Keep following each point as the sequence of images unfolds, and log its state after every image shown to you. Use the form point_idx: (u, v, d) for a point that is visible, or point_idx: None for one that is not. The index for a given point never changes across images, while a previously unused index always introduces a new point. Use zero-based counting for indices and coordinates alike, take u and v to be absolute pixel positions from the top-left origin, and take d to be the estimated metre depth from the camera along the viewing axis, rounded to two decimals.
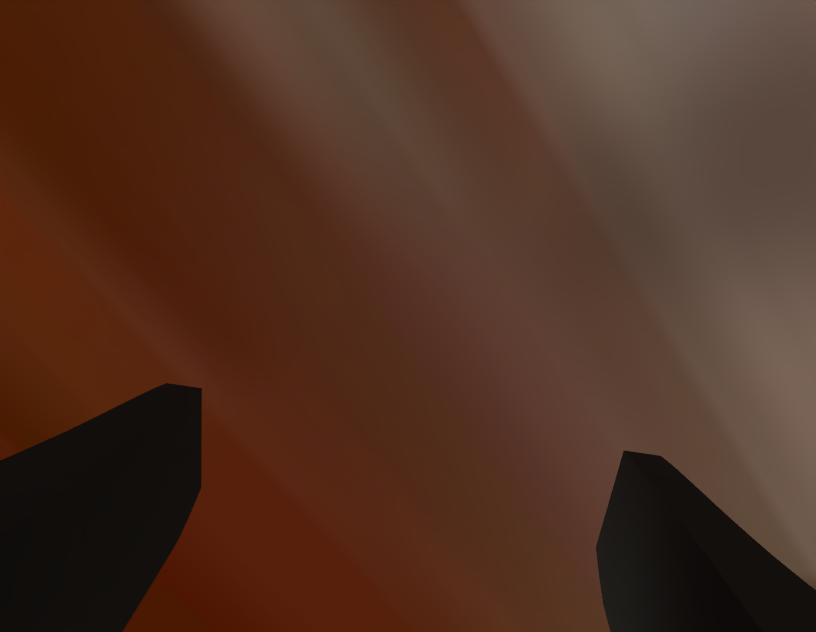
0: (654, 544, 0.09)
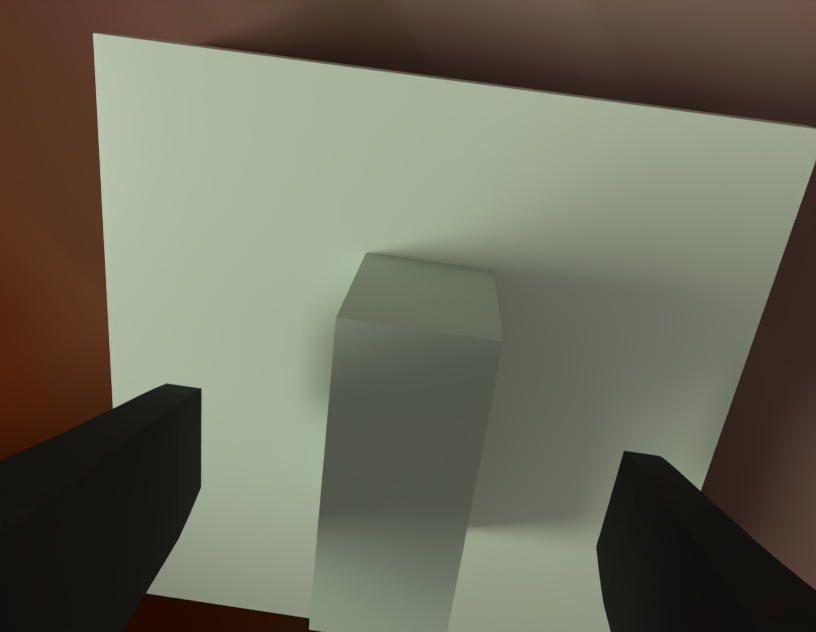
0: (654, 544, 0.09)
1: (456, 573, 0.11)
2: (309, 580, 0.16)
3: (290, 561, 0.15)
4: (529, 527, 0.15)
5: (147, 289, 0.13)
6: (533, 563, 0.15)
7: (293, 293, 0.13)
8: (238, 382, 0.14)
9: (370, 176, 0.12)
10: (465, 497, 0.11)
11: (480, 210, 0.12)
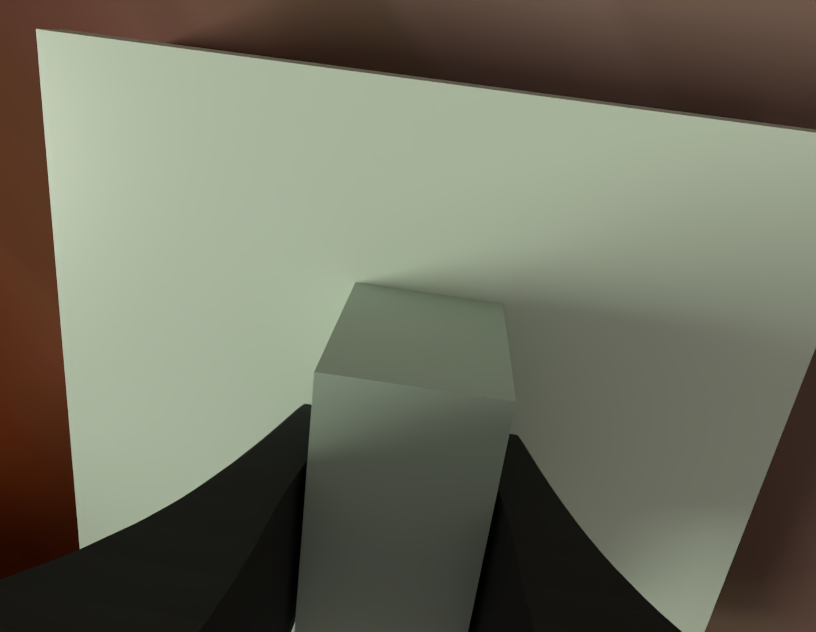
0: None
1: None
2: None
3: None
4: None
5: (106, 322, 0.12)
6: None
7: (272, 327, 0.11)
8: (212, 426, 0.12)
9: (360, 195, 0.10)
10: (469, 579, 0.09)
11: (487, 234, 0.10)
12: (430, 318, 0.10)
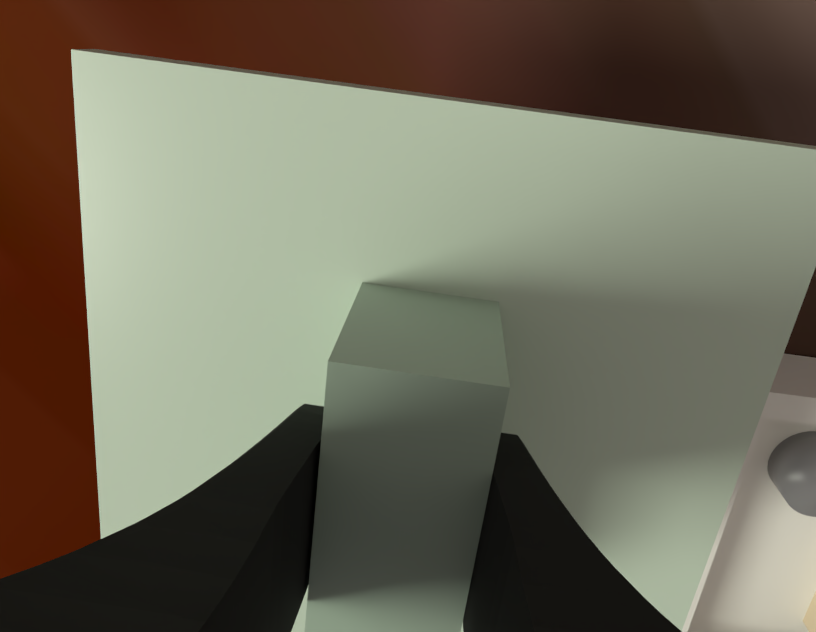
0: (486, 518, 0.09)
1: (458, 631, 0.10)
2: (302, 622, 0.15)
3: None
4: None
5: (130, 319, 0.12)
6: None
7: (285, 324, 0.12)
8: (227, 416, 0.13)
9: (367, 202, 0.11)
10: (468, 552, 0.10)
11: (484, 238, 0.11)
12: (432, 314, 0.11)
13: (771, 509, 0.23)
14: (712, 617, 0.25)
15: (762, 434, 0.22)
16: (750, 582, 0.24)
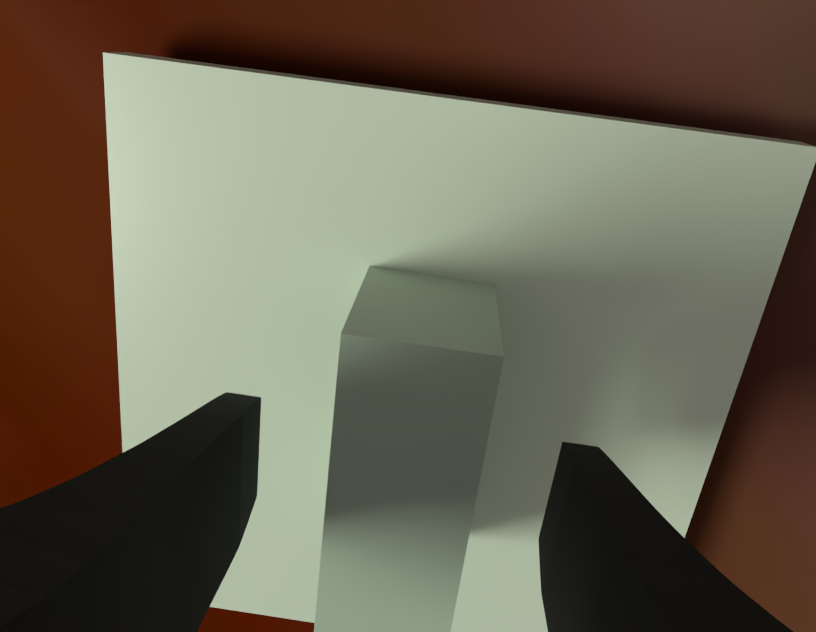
0: (581, 533, 0.09)
1: (458, 581, 0.11)
2: (313, 586, 0.16)
3: (294, 567, 0.16)
4: (529, 534, 0.15)
5: (155, 301, 0.13)
6: (533, 569, 0.15)
7: (298, 305, 0.13)
8: (244, 392, 0.14)
9: (374, 191, 0.12)
10: (467, 507, 0.11)
11: (481, 225, 0.12)
12: (433, 294, 0.12)
13: None
14: None
15: None
16: None
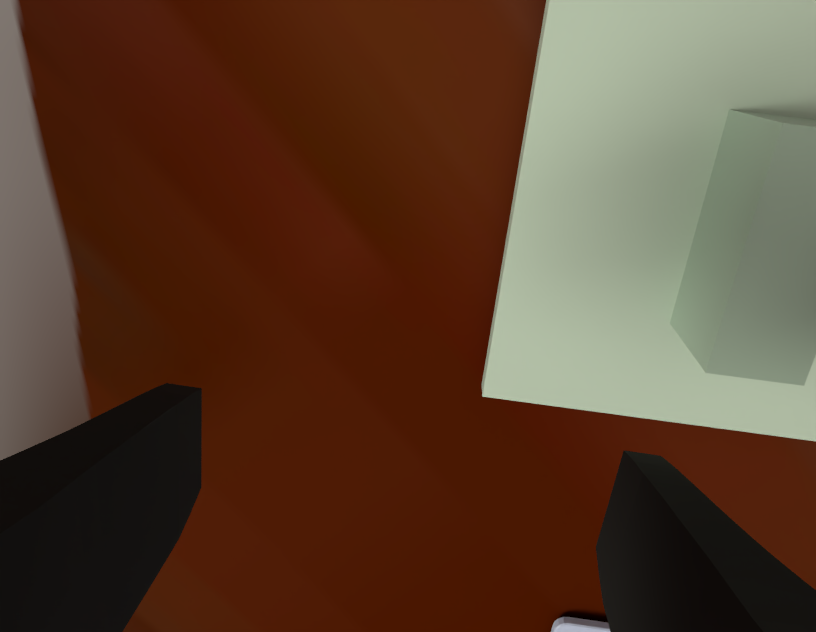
0: (653, 545, 0.09)
1: None
2: (634, 383, 0.20)
3: (622, 366, 0.20)
4: None
5: (556, 143, 0.18)
6: None
7: (668, 143, 0.18)
8: (611, 216, 0.19)
9: (743, 50, 0.17)
10: None
11: None
12: (798, 119, 0.16)
13: None
14: None
15: None
16: None
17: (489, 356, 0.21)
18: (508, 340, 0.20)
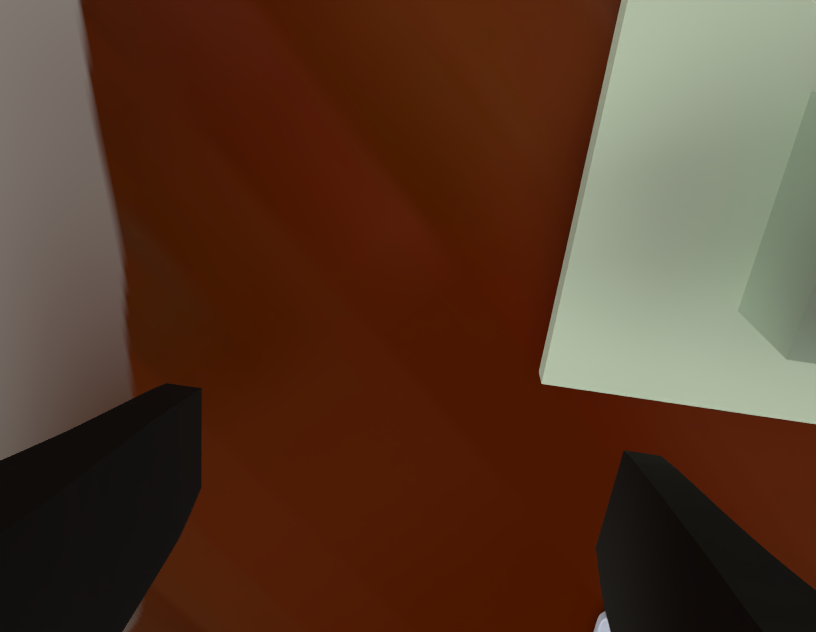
0: (654, 544, 0.09)
1: None
2: (698, 372, 0.20)
3: (687, 354, 0.20)
4: None
5: (632, 124, 0.18)
6: None
7: (746, 126, 0.17)
8: (684, 200, 0.18)
9: None
10: None
11: None
12: None
13: None
14: None
15: None
16: None
17: (551, 342, 0.20)
18: (571, 326, 0.20)
